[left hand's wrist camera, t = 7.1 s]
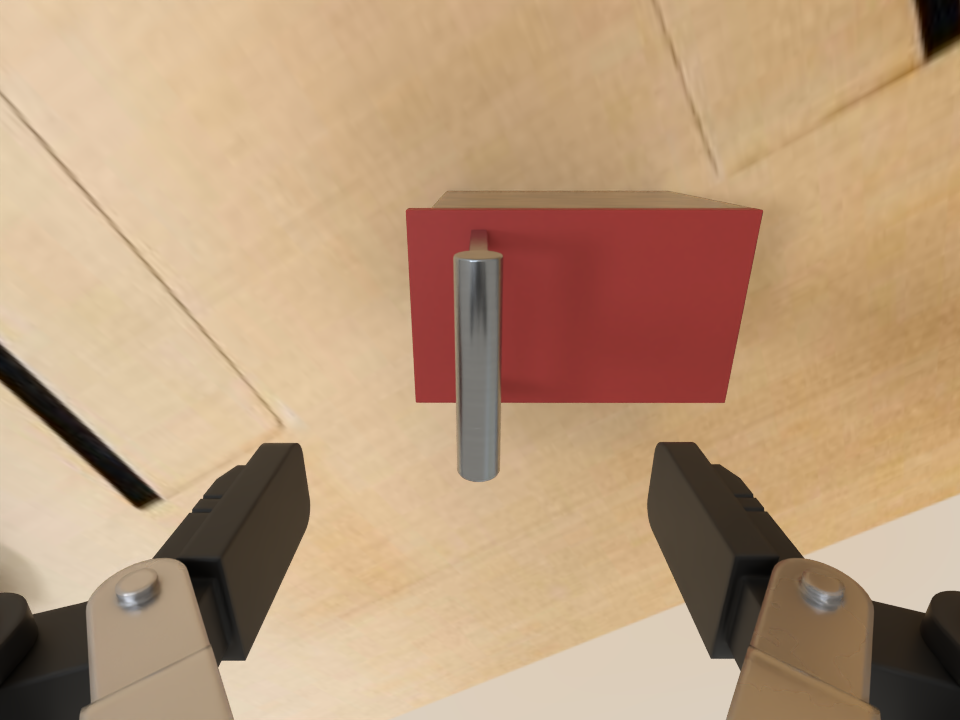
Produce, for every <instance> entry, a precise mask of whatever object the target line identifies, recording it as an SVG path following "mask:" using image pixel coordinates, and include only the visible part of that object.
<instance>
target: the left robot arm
mask: <svg viewBox="0 0 960 720" xmlns="http://www.w3.org/2000/svg"><path fill="white" fill-rule="evenodd" d="M647 509H648V518H649V522H650V526H651V529H652V531H653V533H654V535H655V537H656V540H657V542H658V544H659V546H660V548H661V551H662V553H663V555H664V557H665V559H666V561H667V564H668V566H669V568H670V570H671V572H672V575H673V577H674V579H675V581H676V583H677V585H678V588H679V590H680V592H681V594H682V596H683V599H684V601H685V603H686V605H687V607H688V610H689V612H690V614H691V616H692V618H693V620H694V623H695V625H696V627H697V629H698V631H699V634H700V636H701V638H702V640H703V642H704V644H705V647H706V649H707V651H708V653H709V655H710V658H711V659H735V661H736V663H737V665H738V667H739V669H740V671H741V672H740V676H739V679H738V682H737V685H736V689H735V692H734V695H733V699H732V702H731V705H730V708H729V712H728V715H727V718H726V720H960V591H944V592H940V593H938V594H936V595H935V596H934V597H933V598H932V600H931V602H930V604H929V607H928V609H927V611H926V613H922V612H918V611H914V610H910V609H905V608H901V607H897V606H893V605H888V604H884V603H880V602H875V601H872V600H871V599H870V597H869V595H868V594H867V593H866V592H865V590H864V589H863V588H862V587H861V586H860V585H859V584H858V583H857V582H856V581H854V580H853V579H852V578H850V577H849V576H847V575H846V574H844V573H843V572H841V571H839V570H837V569H835V568H833V567H831V566H829V565H826V564H824V563H821V562H818V561H814V560H810V559H805V558H804V557H803V556H802V555H801V553H800V552H799V551H798V550H797V549H796V547H795V546H794V545H793V544H792V542H791V541H790V540H789V539H788V537H787V536H786V535H785V534H784V532H783V531H782V530H781V529H780V527H779V526H778V525H777V524H776V522H775V521H774V520H773V519H772V517H771V516H770V515H769V514H768V512H765V511H764V507H763V506H762V505H761V504H760V502H759V501H758V500H757V499H756V498H754V497H753V494H752V492H751V491H750V490H749V489H748V487H747V486H746V485H745V484H744V482H743V481H742V480H741V479H740V478H739V477H738V476H736V475H735V474H733V473H732V472H730V471H729V470H727V469H726V468H724V467H723V466H721V465H720V464H711V463H710V462H709V461H708V459H707V458H706V457H705V455H704V454H703V453H702V451H701V450H700V449H699V447H698V446H697V445H696V444H695V443H693V442H659V443H658V444H657V446H656V448H655V453H654V460H653V466H652V473H651V480H650V486H649V493H648V501H647ZM309 515H310V498H309V491H308V485H307V478H306V471H305V465H304V458H303V452H302V448H301V446H300V445H299V444H298V443H263V444H262V445H261V446H260V447H259V448H258V450H257V451H256V452H255V454H254V455H253V456H252V458H251V459H250V460H249V462H248V463H247V464H246V465H237V466H236V467H234V468H233V469H231V470H230V471H228V472H227V473H225V474H224V475H222V476H221V477H219V478H218V479H216V481H215V482H214V483H213V484H212V486H211V487H210V488H209V489H208V491H207V492H206V493H205V494H204V495H203V499H200V500H199V502H198V503H197V504H196V505H195V507H194V508H193V509H192V513H189V514H188V515H187V517H186V518H185V519H184V520H183V521H182V523H181V524H180V525H179V526H178V528H177V529H176V530H175V531H174V533H173V534H172V535H171V536H170V538H169V539H168V540H167V541H166V542H165V544H164V545H163V546H162V547H161V549H160V550H159V551H158V552H157V554H156V555H155V556H154V557H153V559H150V560H146V561H142V562H139V563H136V564H134V565H131V566H129V567H127V568H125V569H123V570H121V571H119V572H117V573H116V574H114V575H113V576H111V577H110V578H108V579H107V580H106V581H104V582H103V583H102V584H101V585H100V586H99V587H98V588H97V589H96V590H95V592H94V593H93V594H92V595H91V597H90V599H89V601H87V602H83V603H80V604H75V605H71V606H67V607H62V608H58V609H54V610H50V611H45V612H41V613H37V614H33V615H32V613H31V610H30V608H29V606H28V604H27V601H26V599H25V598H24V597H23V596H21V595H19V594H14V593H0V720H234V718H233V715H232V712H231V708H230V705H229V702H228V699H227V695H226V692H225V689H224V685H223V682H222V679H221V676H220V672H219V669H218V667H219V665H220V663H221V661H245V660H246V658H247V656H248V654H249V652H250V649H251V647H252V645H253V643H254V641H255V639H256V636H257V634H258V632H259V630H260V628H261V626H262V623H263V621H264V619H265V617H266V615H267V613H268V610H269V608H270V606H271V604H272V602H273V600H274V598H275V595H276V593H277V591H278V589H279V587H280V585H281V582H282V580H283V578H284V576H285V574H286V572H287V569H288V567H289V565H290V563H291V561H292V559H293V556H294V554H295V552H296V550H297V548H298V546H299V544H300V541H301V539H302V537H303V535H304V533H305V531H306V528H307V525H308V521H309Z"/></svg>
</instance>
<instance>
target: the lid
mask: <svg viewBox="0 0 960 720" xmlns="http://www.w3.org/2000/svg"><path fill="white" fill-rule="evenodd" d="M762 214H763V210H760V209H755V208H409V209H407V210H406V223H407V242H408V261H409V280H410V299H411V318H412V337H413V357H414V376H415V395H416V402H417V403H456V425H457V470H458V473H459V474H460V476H461V477H463V478H464V479H466V480H469V481H474V482H483V481H488V480H491V479H493V478H494V477H496V476H497V475H498V473H499V471H500V429H501V403H725V399H726V394H727V389H728V384H729V379H730V374H731V369H732V364H733V359H734V354H735V349H736V344H737V339H738V334H739V329H740V324H741V319H742V314H743V309H744V304H745V299H746V294H747V289H748V284H749V279H750V274H751V269H752V264H753V259H754V254H755V249H756V244H757V239H758V234H759V229H760V224H761V219H762Z"/></svg>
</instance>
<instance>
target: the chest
mask: <svg viewBox="0 0 960 720" xmlns="http://www.w3.org/2000/svg"><path fill="white" fill-rule="evenodd" d="M432 208H749V207H744V206H739V205H734V204H729V203H724V202H719V201H715V200H710V199H705V198H700V197H695V196H690V195H685V194H680V193H675V192H670V191H447V192H446V193H445V194H444V195H443V196H442V197H441V198H440V199H439V200H438V201H437V203H436V204H435V205H434V206H433V207H432Z"/></svg>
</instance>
